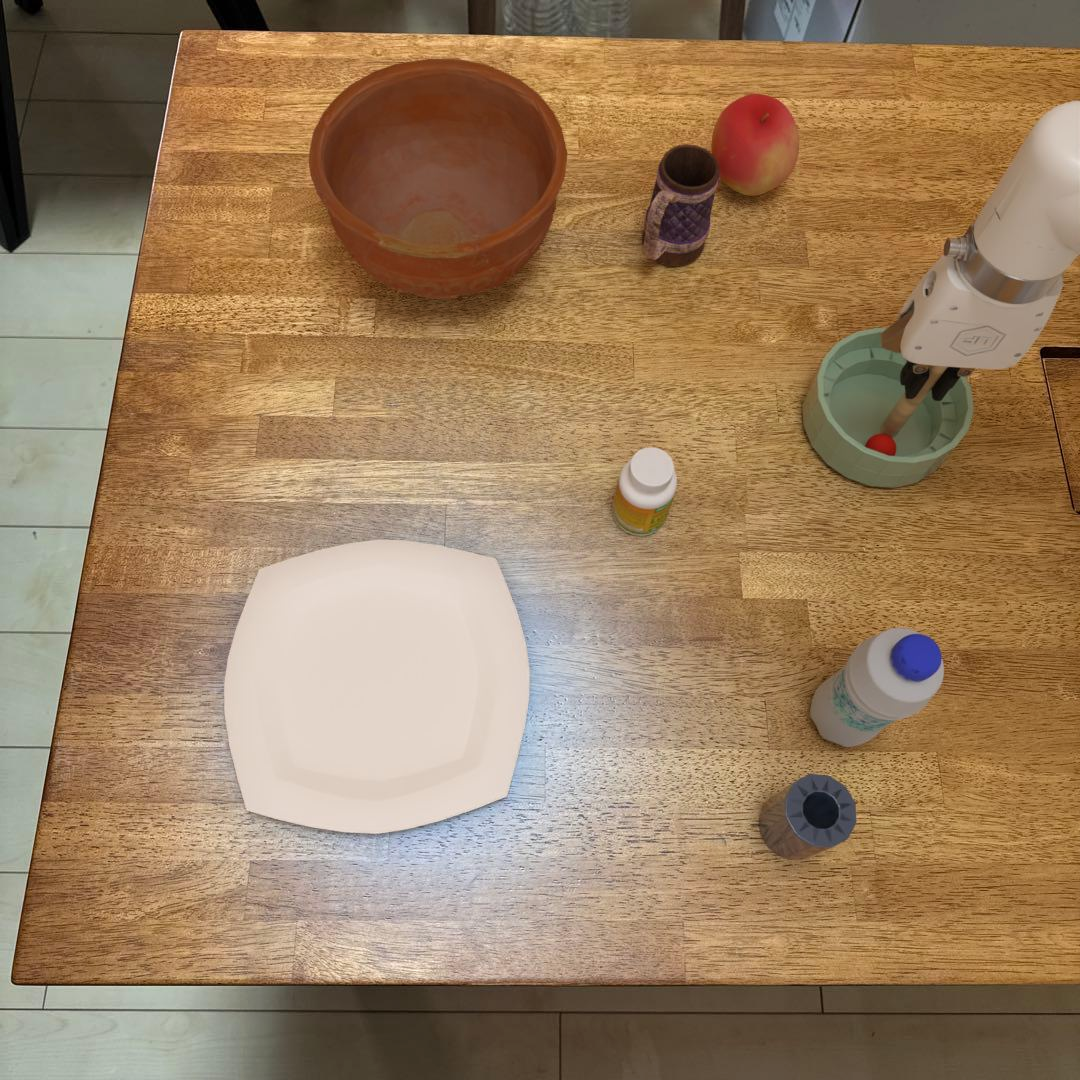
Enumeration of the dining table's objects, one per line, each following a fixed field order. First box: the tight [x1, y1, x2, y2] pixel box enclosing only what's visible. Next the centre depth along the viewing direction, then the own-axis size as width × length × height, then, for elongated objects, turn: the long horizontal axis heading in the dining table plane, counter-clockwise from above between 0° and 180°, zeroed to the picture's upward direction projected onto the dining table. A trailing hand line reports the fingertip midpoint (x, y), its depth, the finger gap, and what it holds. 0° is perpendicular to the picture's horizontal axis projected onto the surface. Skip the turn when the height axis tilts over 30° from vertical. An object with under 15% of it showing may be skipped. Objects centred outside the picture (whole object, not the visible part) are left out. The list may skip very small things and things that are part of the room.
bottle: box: [809, 627, 945, 748], centre depth 83 cm, size 7×7×20 cm
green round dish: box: [802, 327, 975, 489], centre depth 102 cm, size 15×15×6 cm
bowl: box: [308, 58, 568, 301], centre depth 105 cm, size 25×25×15 cm
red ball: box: [865, 434, 897, 456], centre depth 101 cm, size 3×3×3 cm
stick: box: [880, 365, 948, 438], centre depth 96 cm, size 2×2×14 cm
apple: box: [710, 93, 800, 197], centre depth 112 cm, size 10×10×10 cm
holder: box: [758, 773, 858, 861], centre depth 84 cm, size 6×6×9 cm
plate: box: [223, 538, 531, 835], centre depth 91 cm, size 27×27×2 cm
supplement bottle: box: [611, 446, 678, 537], centre depth 95 cm, size 5×5×10 cm
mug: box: [641, 144, 720, 267], centre depth 107 cm, size 10×7×12 cm
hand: (922, 385), depth 94 cm, fingers closed on stick, 1 cm apart
